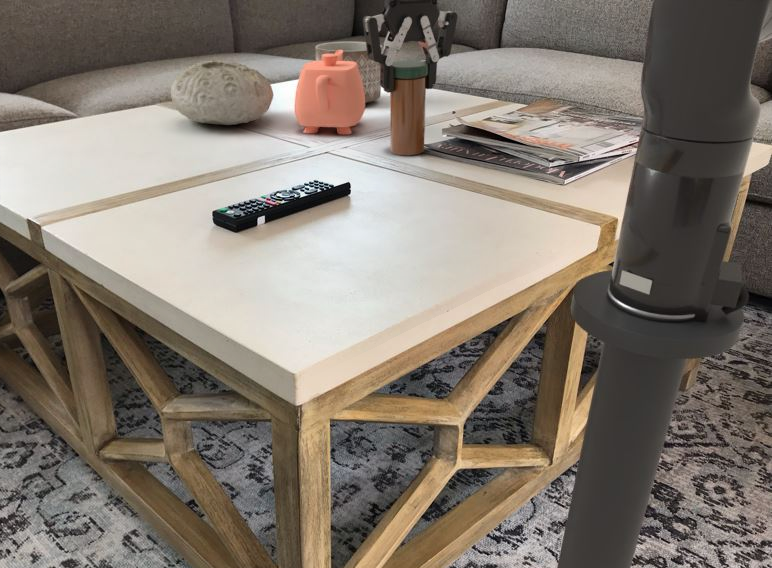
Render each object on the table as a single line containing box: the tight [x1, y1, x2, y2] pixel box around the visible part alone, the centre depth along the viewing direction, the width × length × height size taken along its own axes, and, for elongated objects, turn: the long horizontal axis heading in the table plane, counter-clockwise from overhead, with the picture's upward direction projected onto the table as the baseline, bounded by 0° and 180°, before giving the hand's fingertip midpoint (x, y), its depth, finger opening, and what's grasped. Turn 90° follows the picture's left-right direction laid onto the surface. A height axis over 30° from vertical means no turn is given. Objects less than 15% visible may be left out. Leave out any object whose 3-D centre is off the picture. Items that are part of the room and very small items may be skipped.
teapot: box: [294, 50, 366, 135], centre depth 125 cm, size 20×12×12 cm, turn 170°
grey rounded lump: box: [169, 59, 274, 126], centre depth 129 cm, size 18×18×10 cm
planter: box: [314, 41, 383, 104], centre depth 143 cm, size 13×13×10 cm
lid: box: [392, 60, 429, 78], centre depth 108 cm, size 6×6×2 cm
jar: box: [389, 76, 427, 156], centre depth 111 cm, size 5×5×12 cm
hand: (408, 89), depth 109 cm, fingers closed on lid, 5 cm apart
